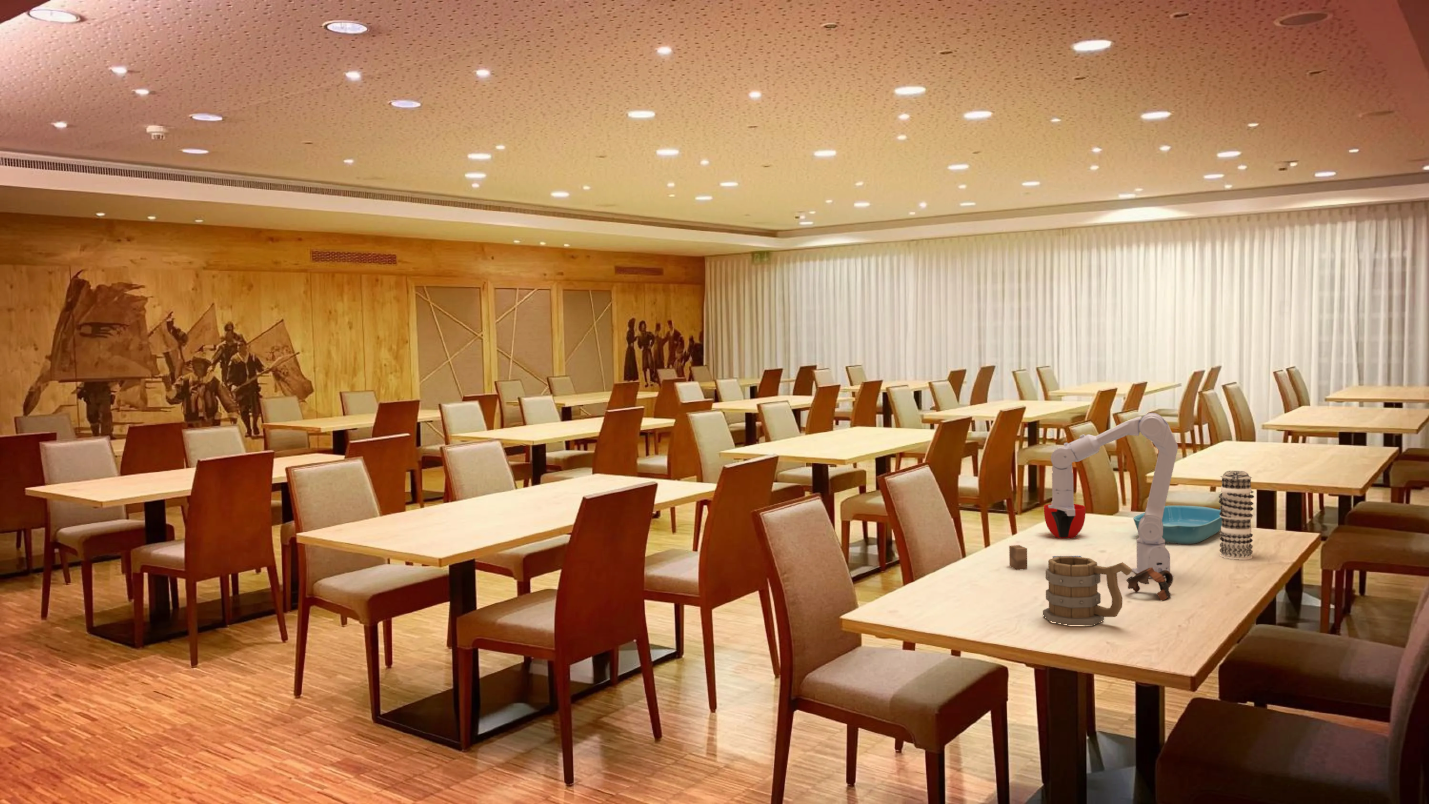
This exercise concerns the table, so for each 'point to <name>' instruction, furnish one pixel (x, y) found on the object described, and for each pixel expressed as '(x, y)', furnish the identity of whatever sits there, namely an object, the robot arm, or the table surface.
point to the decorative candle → (1236, 515)
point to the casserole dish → (1188, 523)
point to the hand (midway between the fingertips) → (1063, 536)
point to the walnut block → (1018, 557)
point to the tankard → (1080, 590)
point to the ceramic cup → (1075, 524)
